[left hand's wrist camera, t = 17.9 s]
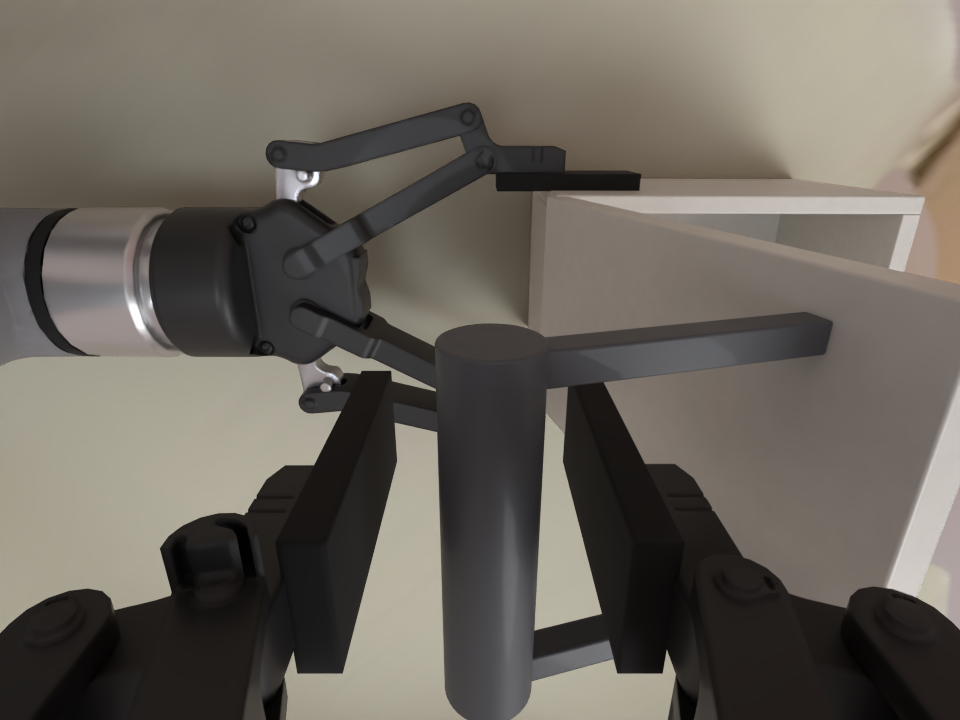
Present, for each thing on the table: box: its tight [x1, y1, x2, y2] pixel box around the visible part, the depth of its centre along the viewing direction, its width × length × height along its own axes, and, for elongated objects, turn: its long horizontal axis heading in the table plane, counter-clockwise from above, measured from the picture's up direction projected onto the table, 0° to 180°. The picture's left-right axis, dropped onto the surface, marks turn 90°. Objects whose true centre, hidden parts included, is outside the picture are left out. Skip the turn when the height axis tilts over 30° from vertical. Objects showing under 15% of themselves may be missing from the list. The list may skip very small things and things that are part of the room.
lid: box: [435, 196, 960, 720], centre depth 16 cm, size 16×9×9 cm
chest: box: [528, 179, 925, 334], centre depth 30 cm, size 16×9×11 cm, turn 90°
